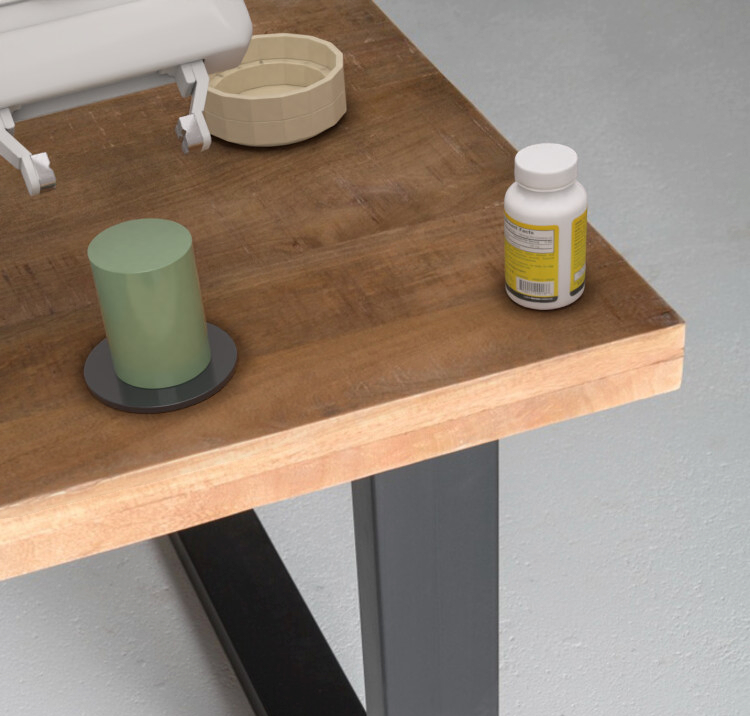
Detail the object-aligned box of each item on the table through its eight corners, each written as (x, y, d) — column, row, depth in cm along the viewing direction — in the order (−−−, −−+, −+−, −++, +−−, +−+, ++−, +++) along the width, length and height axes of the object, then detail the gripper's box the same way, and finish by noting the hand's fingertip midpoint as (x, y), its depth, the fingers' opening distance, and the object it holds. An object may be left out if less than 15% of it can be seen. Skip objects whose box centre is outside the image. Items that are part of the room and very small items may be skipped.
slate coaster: (108, 430, 87) (106, 424, 87) (68, 349, 94) (66, 342, 94) (259, 385, 90) (258, 379, 90) (210, 308, 97) (208, 302, 96)
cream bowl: (228, 165, 112) (220, 111, 109) (182, 105, 120) (173, 53, 117) (370, 129, 115) (366, 75, 112) (315, 73, 123) (310, 21, 120)
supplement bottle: (562, 261, 98) (567, 130, 92) (598, 300, 95) (605, 166, 88) (491, 280, 97) (490, 148, 90) (524, 320, 93) (526, 185, 87)
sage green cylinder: (128, 399, 89) (102, 283, 83) (102, 348, 93) (75, 234, 87) (224, 371, 90) (205, 255, 85) (194, 322, 95) (174, 208, 89)
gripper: (-145, -46, 76) (-56, 196, 76) (210, -120, 82) (293, 105, 82) (-137, 10, 82) (-54, 234, 82) (193, -63, 88) (271, 146, 88)
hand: (122, 169), depth 82 cm, fingers open, 8 cm apart
